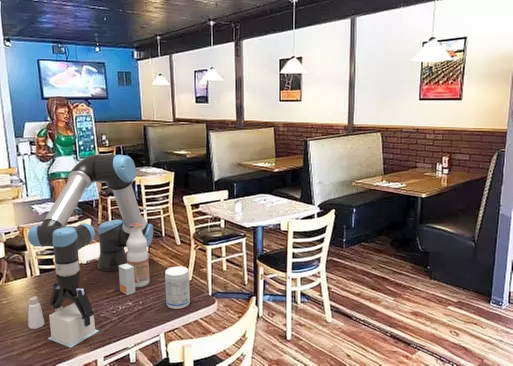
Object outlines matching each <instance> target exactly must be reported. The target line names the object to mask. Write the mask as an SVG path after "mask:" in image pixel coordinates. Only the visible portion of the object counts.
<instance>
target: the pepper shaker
mask: <svg viewBox="0 0 513 366" xmlns="http://www.w3.org/2000/svg"><path fill="white" fill-rule="evenodd" d="M28 300H29V304H28V316H27V317H28V319H27V320H28V321H27V323H28V324H27V326H28V328H29V329H31V330H34V329H36V330H37V329H39V328H42V327H43V326H44V325H45V319H44V315H43V311H42V307H41V302H39V297H38V296H36V295H35V296H31V297H30V298H29V299H28Z"/></svg>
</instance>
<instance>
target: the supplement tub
mask: <svg viewBox="0 0 513 366" xmlns="http://www.w3.org/2000/svg"><path fill="white" fill-rule="evenodd" d="M189 274H190V272H189V269H188V268H187V267H185V266H180V265H179V266H170V267H168V268H167V269H166V270H165V274H164V281H165V283H164V284H165V303H166V307H168V308H169V309H174V310H179V309H180V310H181V309H184V308H186V307H189V304H190V303H191V302H190V301H191V298H190V275H189Z"/></svg>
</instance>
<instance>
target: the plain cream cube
mask: <svg viewBox="0 0 513 366" xmlns="http://www.w3.org/2000/svg"><path fill="white" fill-rule="evenodd" d="M93 311H94V309H93ZM48 316H49V317H48V319H49V328H50V337H51V338H54V339H56V340H59V341H61V342H64V343H66V344H69V345H72V344H74V343H76V342H78V341H79V340H81V339H83V338H84V337H86V336H88V335H90V334H91V333H93V332H95V329H96V326H95V324H96V323H95V314H94V315H92V316H91V317H90V333H88V334H87V335H85V336H83V335H82V324H81V318H82V315H81V313H80V312H79V310H78V308H77V307H76V305H75V303H74V302H72V303H71V304H69V305H67V306H65V307H63V309H61V310H58V311H56V312H55V311H54V312H52V313H50V314H49V315H48Z"/></svg>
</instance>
